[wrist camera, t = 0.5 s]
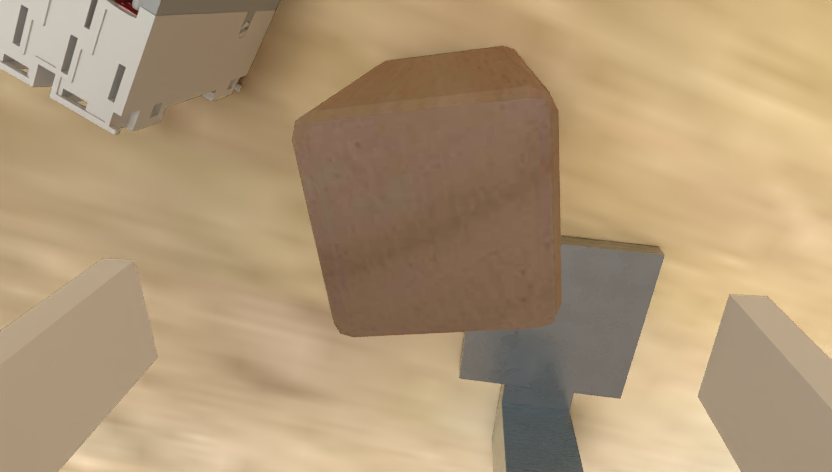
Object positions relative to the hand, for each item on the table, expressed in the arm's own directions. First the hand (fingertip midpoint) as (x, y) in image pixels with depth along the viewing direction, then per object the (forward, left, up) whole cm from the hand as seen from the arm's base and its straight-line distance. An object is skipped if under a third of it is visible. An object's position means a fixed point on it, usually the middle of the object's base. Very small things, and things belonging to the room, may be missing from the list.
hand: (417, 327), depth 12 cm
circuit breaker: (-16, +7, -29) cm, 34 cm away
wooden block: (0, -2, -29) cm, 29 cm away
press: (+10, -21, -28) cm, 36 cm away
